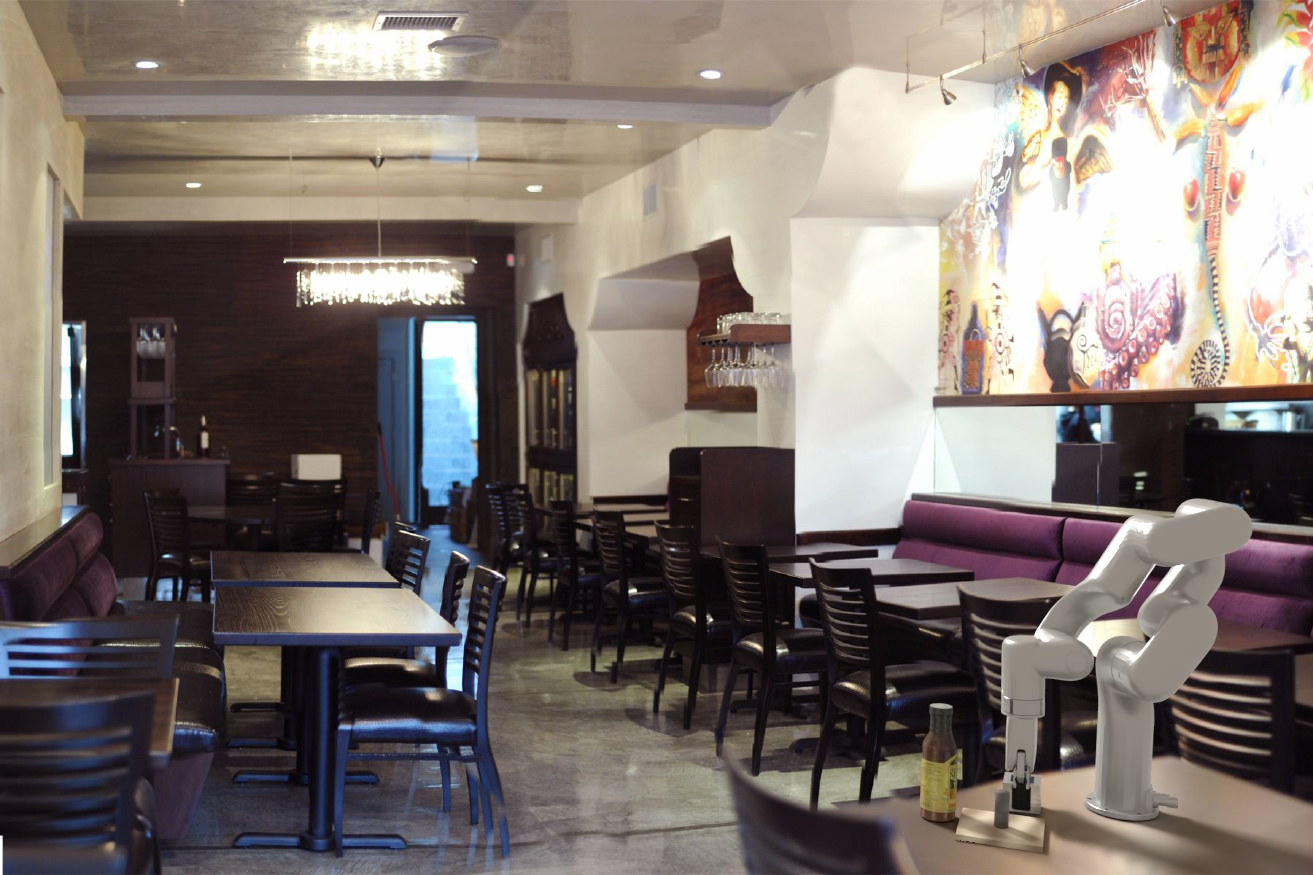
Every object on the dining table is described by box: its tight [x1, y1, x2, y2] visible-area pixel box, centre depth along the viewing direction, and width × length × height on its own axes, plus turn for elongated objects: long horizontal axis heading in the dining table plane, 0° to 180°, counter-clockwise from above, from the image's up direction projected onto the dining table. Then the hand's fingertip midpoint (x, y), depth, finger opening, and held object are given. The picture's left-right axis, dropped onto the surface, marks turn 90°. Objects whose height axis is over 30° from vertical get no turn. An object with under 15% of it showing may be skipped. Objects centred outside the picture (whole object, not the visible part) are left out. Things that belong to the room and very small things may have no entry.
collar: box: [1002, 771, 1042, 815], centre depth 218 cm, size 6×6×5 cm
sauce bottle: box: [919, 702, 959, 823], centre depth 213 cm, size 6×6×20 cm
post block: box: [954, 789, 1046, 854], centre depth 206 cm, size 14×14×7 cm
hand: (1022, 802), depth 218 cm, fingers closed on collar, 6 cm apart
